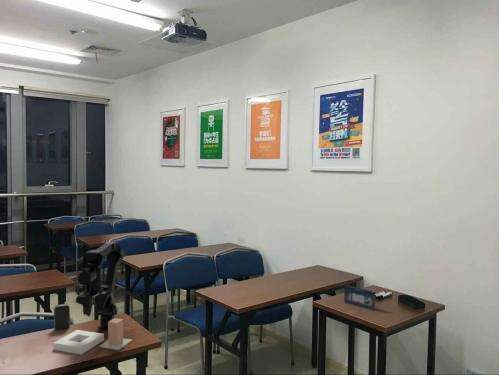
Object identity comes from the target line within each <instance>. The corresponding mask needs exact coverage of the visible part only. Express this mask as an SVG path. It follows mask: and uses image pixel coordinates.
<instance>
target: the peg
mask: <svg viewBox="0 0 499 375" xmlns="http://www.w3.org/2000/svg"><path fill="white" fill-rule="evenodd" d="M107 337H108V339H107V341H108V344H110V345H119V344H120V343H122V342H123V338H124V319H123V318H115V317H114V319H112V320H110V321H109V322H108V329H107Z"/></svg>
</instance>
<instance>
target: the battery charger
mask: <svg viewBox="0 0 499 375" xmlns="http://www.w3.org/2000/svg"><path fill="white" fill-rule="evenodd" d="M70 310H71V309H70V306H69V304H68V303H61V304H56V305H55V306H54V307H53V321H54V324H53V325H54V326H53V328H54V330H55V331H57V330H62V329H63V330H64V329H68V328H70V325H71V324H70V318H71V315H70V314H71V312H70Z"/></svg>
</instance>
